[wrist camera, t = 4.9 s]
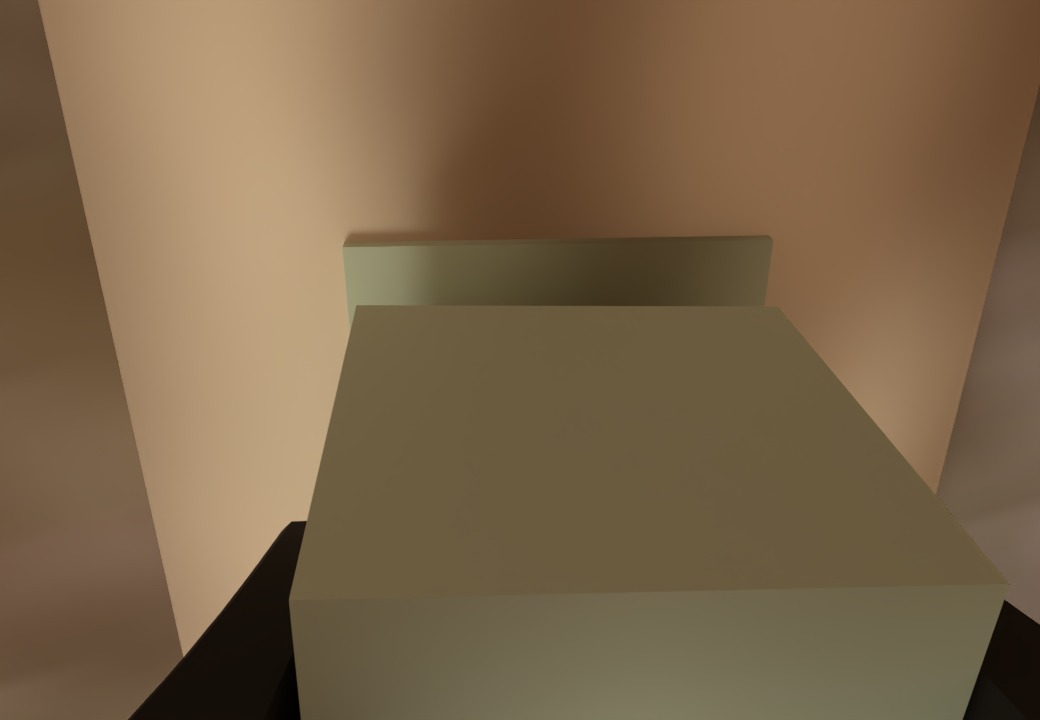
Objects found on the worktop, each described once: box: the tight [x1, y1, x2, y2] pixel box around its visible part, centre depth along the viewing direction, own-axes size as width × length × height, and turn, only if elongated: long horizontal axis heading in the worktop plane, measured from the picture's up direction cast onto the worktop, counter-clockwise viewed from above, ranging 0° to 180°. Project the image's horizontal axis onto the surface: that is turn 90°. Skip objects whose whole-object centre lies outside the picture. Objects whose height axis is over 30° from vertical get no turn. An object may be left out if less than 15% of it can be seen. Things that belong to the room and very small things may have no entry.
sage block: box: [289, 305, 1010, 720], centre depth 10 cm, size 5×5×5 cm
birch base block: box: [38, 0, 1040, 657], centre depth 14 cm, size 12×12×3 cm
